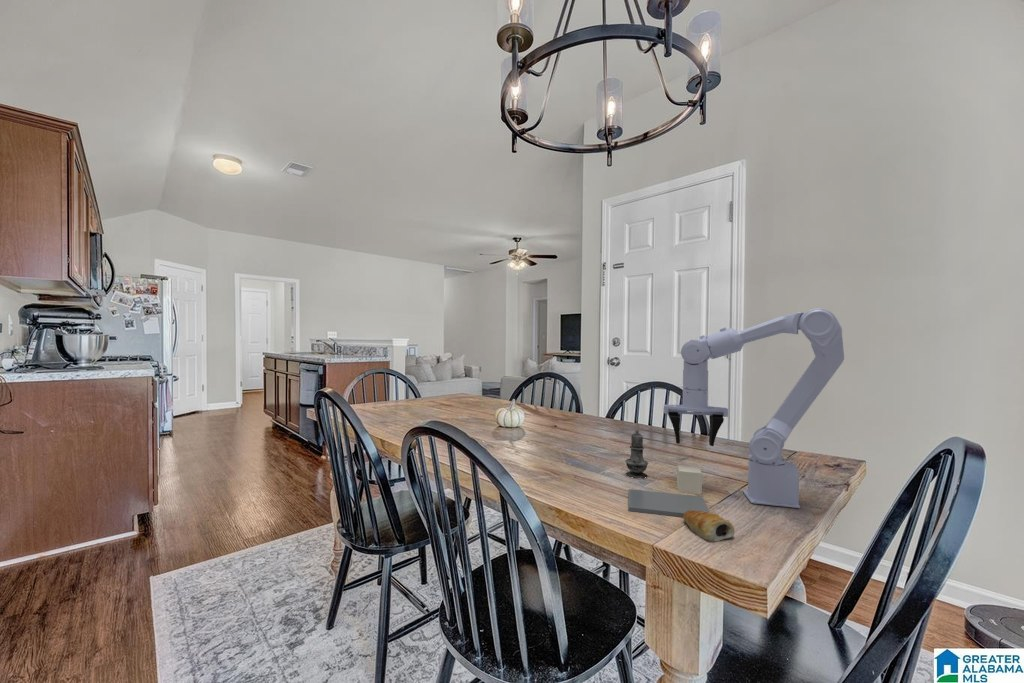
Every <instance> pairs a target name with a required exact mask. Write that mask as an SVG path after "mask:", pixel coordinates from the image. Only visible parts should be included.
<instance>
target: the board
mask: <svg viewBox="0 0 1024 683" xmlns="http://www.w3.org/2000/svg"><path fill="white" fill-rule="evenodd" d="M689 510H693V511H706V512H709V513H711V512H710V510H709V507H708V506H707V503H706V501H705V500H704V497H703V496H701V495H690V494H681V493H673V492H672V493H670V492H662V491H653V490H652V491H651V490H641V489H633V488H628V510H627V511H628V512H633V513H644V514H652V515H654V514H655V515H661V516H662V515H663V516H670V517H677V518H678V517H679V518H683V516H684V513H685V512H686V511H689Z"/></svg>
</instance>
